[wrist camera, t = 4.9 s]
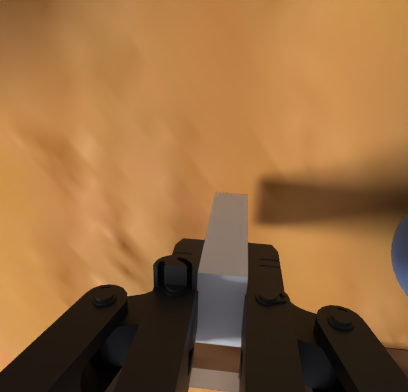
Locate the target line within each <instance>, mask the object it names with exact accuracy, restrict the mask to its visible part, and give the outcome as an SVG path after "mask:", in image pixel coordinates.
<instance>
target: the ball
mask: <svg viewBox="0 0 408 392" xmlns="http://www.w3.org/2000/svg"><path fill="white" fill-rule="evenodd" d="M391 258H392V265H393V269H394V272H395V275H396V278H397V280H398V282H399V284H400V286H401V287H402V289H403V290H404V292H405V293H406V295H407V296H408V213H407V214H406V216H405V217H404V218H403V219H402V221H401V222H400V224H399V226H398V227H397V229H396V232H395V234H394V237H393V242H392V249H391Z"/></svg>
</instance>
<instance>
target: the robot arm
mask: <svg viewBox="0 0 408 392" xmlns="http://www.w3.org/2000/svg"><path fill="white" fill-rule="evenodd" d="M153 269H154V288H153V291H151V292H148V293H146V294H141V295H135V296H127V292H126V291H125V290H124V288H122V287H120V286H117V285H110V284H109V285H101V286H98V287H95V288H93V289H91V290H90V291H88V292H87V293H85V294H84V295H83V296H82V297H81V298H80V299H79V300H78V301H77V302H76V303H75V304H74V305H72V306H71V307H70V308H69V309H68V310H67V311H66V312H65V313H64V314H63V315H62V316H61V317H59V318H58V319H57V320H56V321H55V322H54V323H53V324H52V325H51V326H50V327H49V328H48V329H47V330H45V331H44V332H43V333H42V334H41V335H40V336H39V337H38V338H37V339H36V340H35V341H34V342H32V343H31V344H30V345H29V346H28V347H27V348H26V349H25V350H24V351H23V352H22V353H21V354H20V355H18V356H17V357H16V358H15V359H14V360H13V361H12V362H11V363H10V364H9V365H8V366H7V367H5V368H4V369H3V370H2V371H1V372H0V392H188V389H189V383H190V377H191V371H192V365H193V359H194V343H195V338H196V342H198V343H207V344H216V345H225V346H234V347H241V354H240V364H239V375H238V378H239V392H408V378H407V376H406V375H405V374H404V372H403V371H402V370H401V368H400V367H399V366H398V364H397V363H396V362H395V361H394V359H393V358H392V357H391V355H390V354H389V353H388V351H387V350H386V349H385V348H384V346H383V345H382V344H381V342H380V341H379V340H378V338H377V337H376V336H375V334H374V333H373V332H372V331H371V329H370V328H369V327H368V325H367V324H366V323H365V321H364V320H363V319H362V318H361V317H360V316H359V315H358V314H357V313H355V312H353V311H351V310H350V309H347V308H344V307H341V306H334V305H329V306H325V307H322V308H321V309H319V310H318V312H317V314H315V313H312V312H309V311H306V310H303V309H301V308H299V307H297V306H295V305H294V304H292V303H291V302H290V299H289V297H288V295H287V294H286V293H285V292H284V286H283V280H282V274H281V268H280V262H279V255H278V252H277V250H276V249H275V248H274V247H273V246H272V245H267V244H255V243H248V200H247V195H246V194H232V193H218V192H216V193H215V197H214V202H213V206H212V211H211V215H210V220H209V224H208V229H207V233H206V238H205V240H197V239H185V238H183V239H182V240H181V241H179V242H178V243H177V244H176V245H175V248H174V250H173V253H172V255H169V256H165V257H162V258H160V259H158V260H157V261H156V262H155V263H154V264H153Z"/></svg>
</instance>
